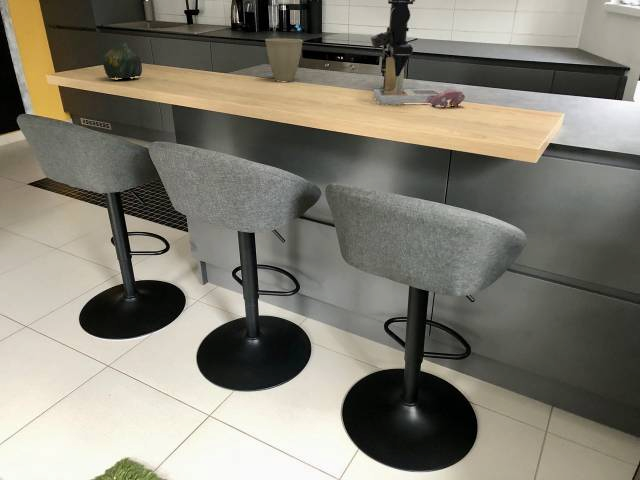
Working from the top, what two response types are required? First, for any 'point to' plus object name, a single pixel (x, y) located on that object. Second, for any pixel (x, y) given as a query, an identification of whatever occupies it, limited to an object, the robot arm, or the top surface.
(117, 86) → the top surface
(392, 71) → the skincare box
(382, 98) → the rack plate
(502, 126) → the top surface
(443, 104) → the video game controller
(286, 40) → the plant pot
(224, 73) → the top surface
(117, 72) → the squash
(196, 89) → the top surface
